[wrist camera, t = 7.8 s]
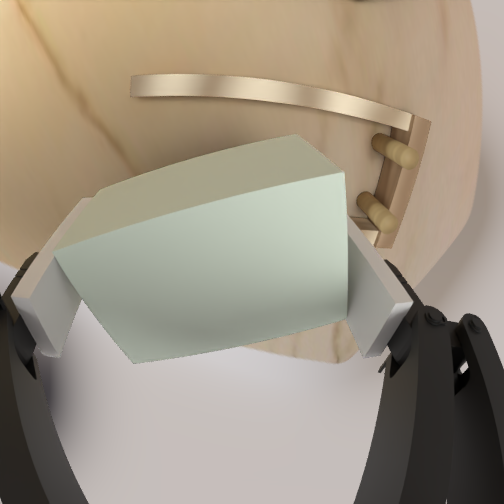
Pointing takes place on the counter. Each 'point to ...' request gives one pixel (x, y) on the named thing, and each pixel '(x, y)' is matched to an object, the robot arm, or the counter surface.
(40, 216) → the counter surface
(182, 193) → the block
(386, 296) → the robot arm
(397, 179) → the wooden u-shaped frame
